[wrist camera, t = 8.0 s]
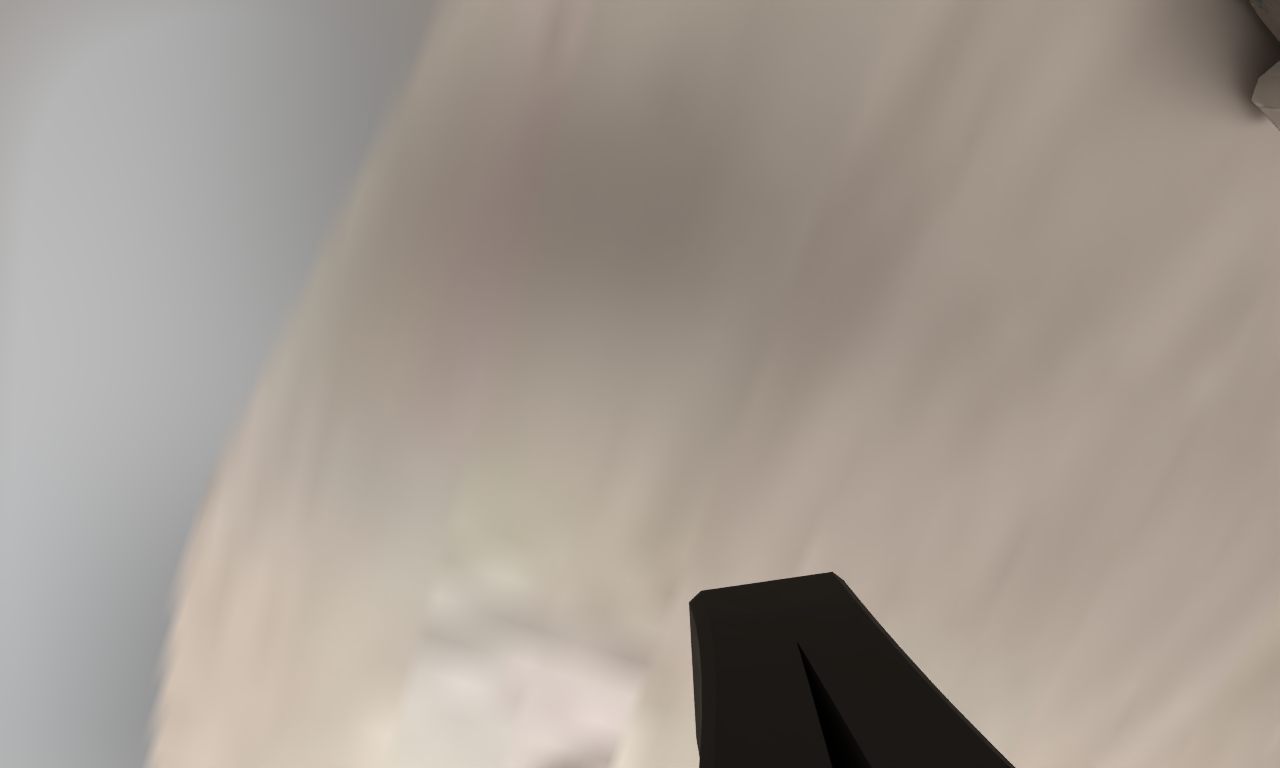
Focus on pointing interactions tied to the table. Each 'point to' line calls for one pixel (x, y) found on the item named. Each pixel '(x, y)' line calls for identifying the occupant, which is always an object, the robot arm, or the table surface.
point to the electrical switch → (1275, 89)
